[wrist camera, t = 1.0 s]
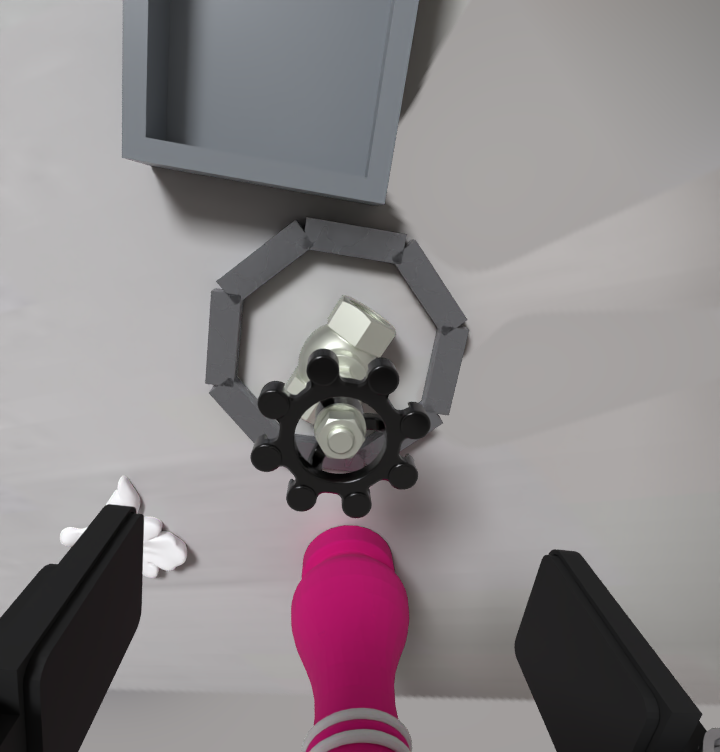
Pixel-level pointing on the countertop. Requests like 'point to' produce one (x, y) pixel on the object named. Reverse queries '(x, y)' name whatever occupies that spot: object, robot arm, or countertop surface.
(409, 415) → the valve
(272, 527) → the countertop surface
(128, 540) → the robot arm
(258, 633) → the countertop surface
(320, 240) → the segmented octagonal ring
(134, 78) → the bin
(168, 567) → the acanthus leaf ornament
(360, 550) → the pepper mill
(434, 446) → the countertop surface
